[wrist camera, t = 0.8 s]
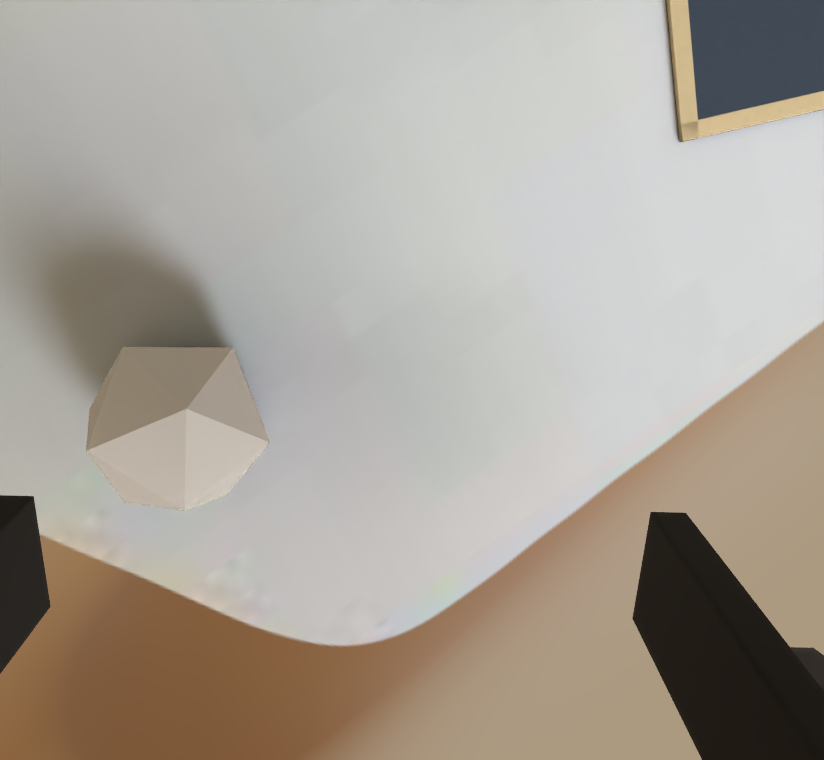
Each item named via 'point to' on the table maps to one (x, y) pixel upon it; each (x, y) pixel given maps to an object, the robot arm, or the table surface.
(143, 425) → the die
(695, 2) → the framed chalkboard
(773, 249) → the table surface
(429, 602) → the table surface
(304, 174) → the table surface
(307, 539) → the table surface
